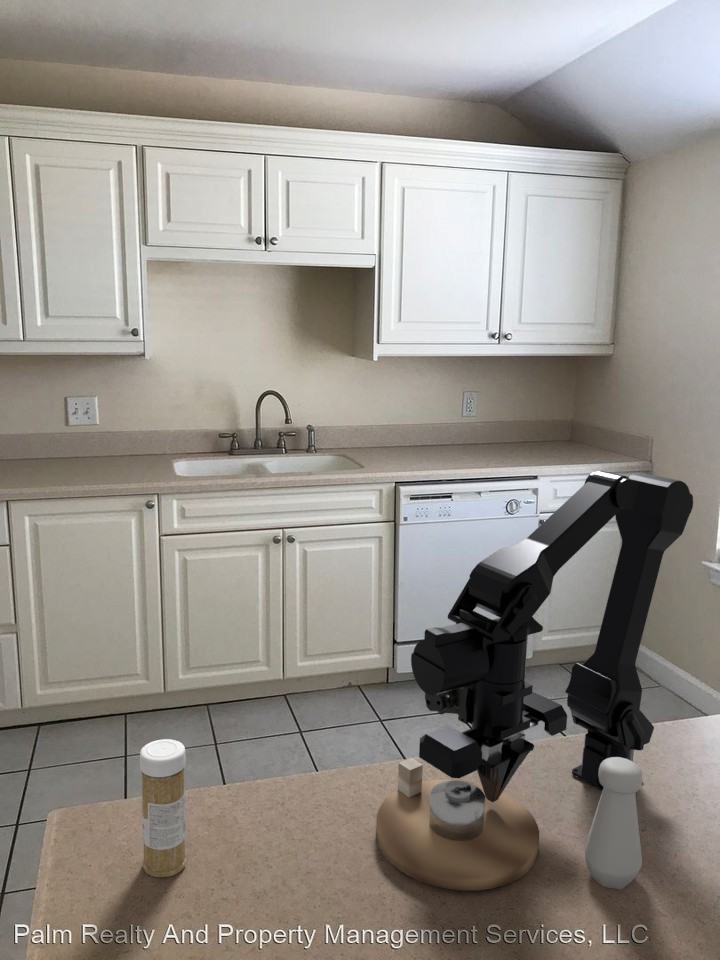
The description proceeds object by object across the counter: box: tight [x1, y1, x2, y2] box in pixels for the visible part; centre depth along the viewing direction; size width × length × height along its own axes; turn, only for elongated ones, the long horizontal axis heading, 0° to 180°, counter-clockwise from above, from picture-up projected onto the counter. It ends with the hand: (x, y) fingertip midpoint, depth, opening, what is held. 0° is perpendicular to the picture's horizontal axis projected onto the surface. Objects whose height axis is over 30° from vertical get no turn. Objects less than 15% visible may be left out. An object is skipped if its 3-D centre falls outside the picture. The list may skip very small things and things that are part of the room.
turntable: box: [375, 757, 540, 891], centre depth 92 cm, size 18×18×5 cm
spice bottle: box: [139, 738, 187, 878], centre depth 86 cm, size 5×5×14 cm
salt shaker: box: [584, 757, 643, 891], centre depth 86 cm, size 6×6×13 cm
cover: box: [429, 779, 485, 841], centre depth 92 cm, size 6×6×4 cm
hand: (491, 799), depth 96 cm, fingers closed
